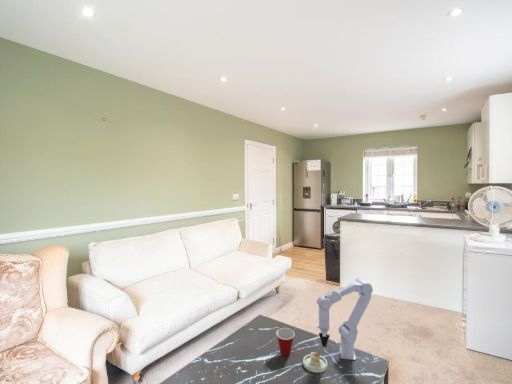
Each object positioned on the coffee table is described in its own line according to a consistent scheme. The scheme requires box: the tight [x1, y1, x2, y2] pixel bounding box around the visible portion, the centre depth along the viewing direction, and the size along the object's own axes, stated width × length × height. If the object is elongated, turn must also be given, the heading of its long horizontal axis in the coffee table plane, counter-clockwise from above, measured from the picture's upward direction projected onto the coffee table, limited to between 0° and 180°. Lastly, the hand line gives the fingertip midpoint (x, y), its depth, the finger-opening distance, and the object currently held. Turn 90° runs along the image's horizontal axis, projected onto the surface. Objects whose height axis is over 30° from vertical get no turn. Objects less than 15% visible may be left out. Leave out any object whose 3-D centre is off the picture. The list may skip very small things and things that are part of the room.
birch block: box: [310, 351, 321, 366], centre depth 148 cm, size 4×4×4 cm
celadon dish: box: [302, 353, 328, 374], centre depth 149 cm, size 13×13×2 cm
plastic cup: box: [275, 327, 296, 356], centre depth 159 cm, size 11×11×12 cm
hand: (324, 342), depth 153 cm, fingers open, 7 cm apart
